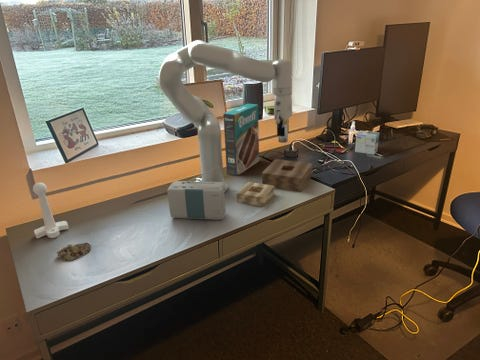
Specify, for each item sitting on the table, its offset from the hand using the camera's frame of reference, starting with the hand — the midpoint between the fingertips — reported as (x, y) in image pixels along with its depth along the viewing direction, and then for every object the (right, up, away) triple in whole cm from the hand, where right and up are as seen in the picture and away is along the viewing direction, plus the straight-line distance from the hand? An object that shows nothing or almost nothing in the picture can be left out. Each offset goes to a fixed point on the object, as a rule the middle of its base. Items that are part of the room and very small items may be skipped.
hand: (282, 133), depth 160 cm
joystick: (-87, -40, -22) cm, 98 cm away
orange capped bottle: (0, -3, +1) cm, 3 cm away
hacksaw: (+25, -13, +29) cm, 40 cm away
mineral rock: (-74, -45, -34) cm, 93 cm away
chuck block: (+4, -20, +13) cm, 24 cm away
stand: (-12, -27, -2) cm, 30 cm away
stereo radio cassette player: (-34, -34, -14) cm, 50 cm away
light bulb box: (+51, -4, +45) cm, 68 cm away
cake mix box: (-17, -13, +30) cm, 37 cm away
